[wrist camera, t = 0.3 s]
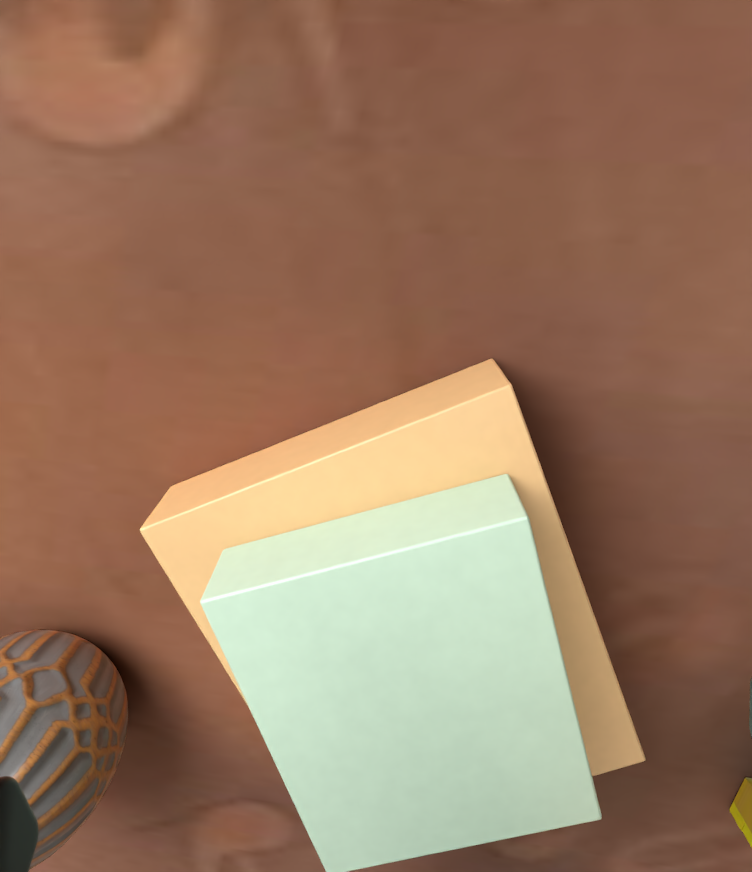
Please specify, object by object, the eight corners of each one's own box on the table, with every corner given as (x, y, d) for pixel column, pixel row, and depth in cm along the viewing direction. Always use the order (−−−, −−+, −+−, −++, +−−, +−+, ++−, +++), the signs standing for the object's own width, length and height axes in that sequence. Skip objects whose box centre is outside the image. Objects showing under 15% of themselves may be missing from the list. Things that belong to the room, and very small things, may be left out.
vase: (-50, 609, 24) (-271, 818, 16) (126, 590, 24) (-8, 794, 16) (8, 747, 27) (-157, 990, 18) (169, 732, 26) (73, 973, 18)
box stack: (615, 695, 26) (681, 835, 20) (342, 780, 27) (332, 931, 22) (492, 357, 21) (534, 415, 15) (170, 485, 22) (99, 581, 17)
